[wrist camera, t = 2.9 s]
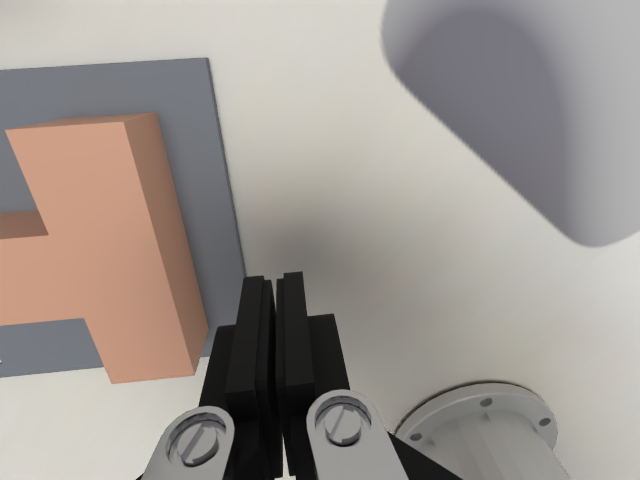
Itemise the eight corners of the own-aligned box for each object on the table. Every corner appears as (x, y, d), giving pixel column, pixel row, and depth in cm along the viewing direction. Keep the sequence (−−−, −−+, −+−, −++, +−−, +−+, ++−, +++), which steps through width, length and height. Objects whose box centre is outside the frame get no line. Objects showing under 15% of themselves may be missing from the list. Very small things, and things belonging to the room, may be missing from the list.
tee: (208, 329, 21) (194, 375, 18) (13, 348, 20) (-39, 399, 17) (156, 112, 16) (123, 121, 12) (-108, 130, 15) (-213, 144, 12)
